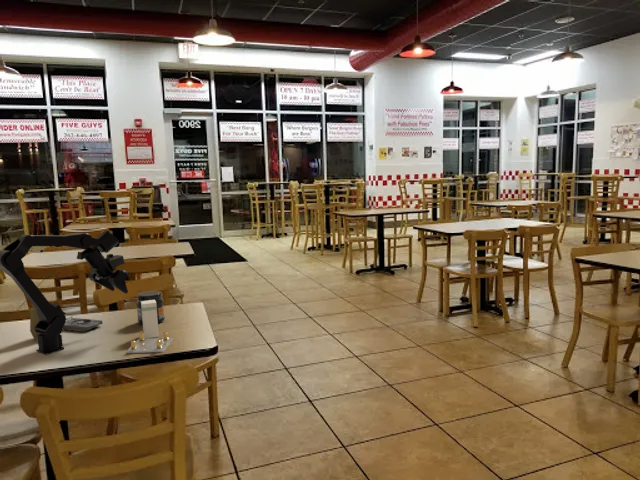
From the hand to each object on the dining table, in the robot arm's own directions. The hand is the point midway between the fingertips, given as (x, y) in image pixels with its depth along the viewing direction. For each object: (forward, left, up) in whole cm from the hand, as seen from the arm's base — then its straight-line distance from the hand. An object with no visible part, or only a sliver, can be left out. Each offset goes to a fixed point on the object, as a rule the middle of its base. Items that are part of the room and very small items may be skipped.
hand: (120, 291), depth 194 cm
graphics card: (-8, +18, -16) cm, 25 cm away
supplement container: (+12, -1, -16) cm, 20 cm away
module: (0, -16, -15) cm, 22 cm away
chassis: (-8, -26, -15) cm, 31 cm away
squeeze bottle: (-22, +18, -15) cm, 32 cm away
